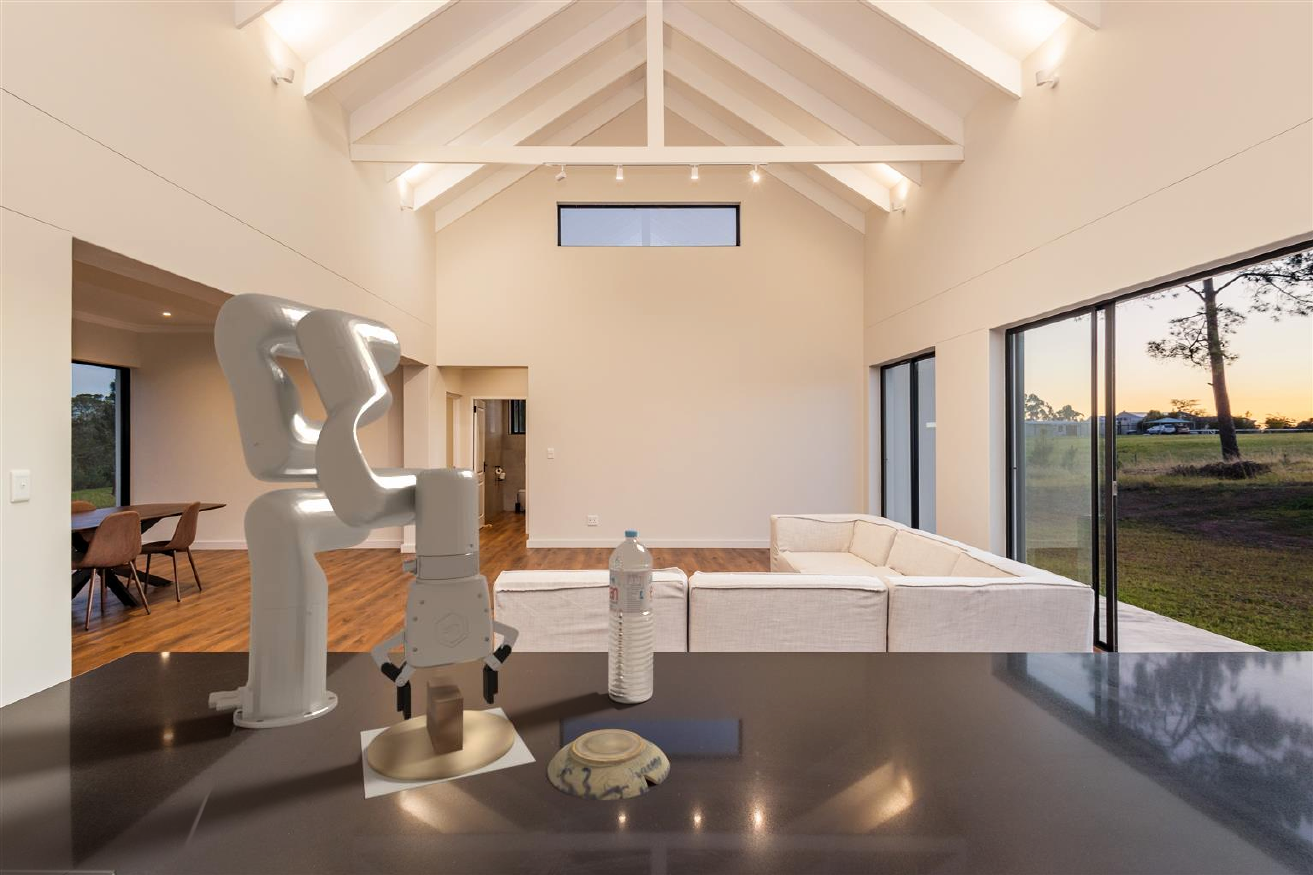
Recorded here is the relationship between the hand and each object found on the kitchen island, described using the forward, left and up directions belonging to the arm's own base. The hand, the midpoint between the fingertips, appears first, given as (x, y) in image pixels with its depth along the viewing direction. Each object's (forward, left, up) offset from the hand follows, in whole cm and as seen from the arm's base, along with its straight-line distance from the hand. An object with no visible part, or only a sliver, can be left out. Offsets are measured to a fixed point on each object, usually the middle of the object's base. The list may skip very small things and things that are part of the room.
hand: (448, 708), depth 76 cm
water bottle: (+28, +7, -5) cm, 29 cm away
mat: (0, +1, -5) cm, 5 cm away
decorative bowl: (+16, -13, -6) cm, 21 cm away
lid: (0, +1, -5) cm, 5 cm away
